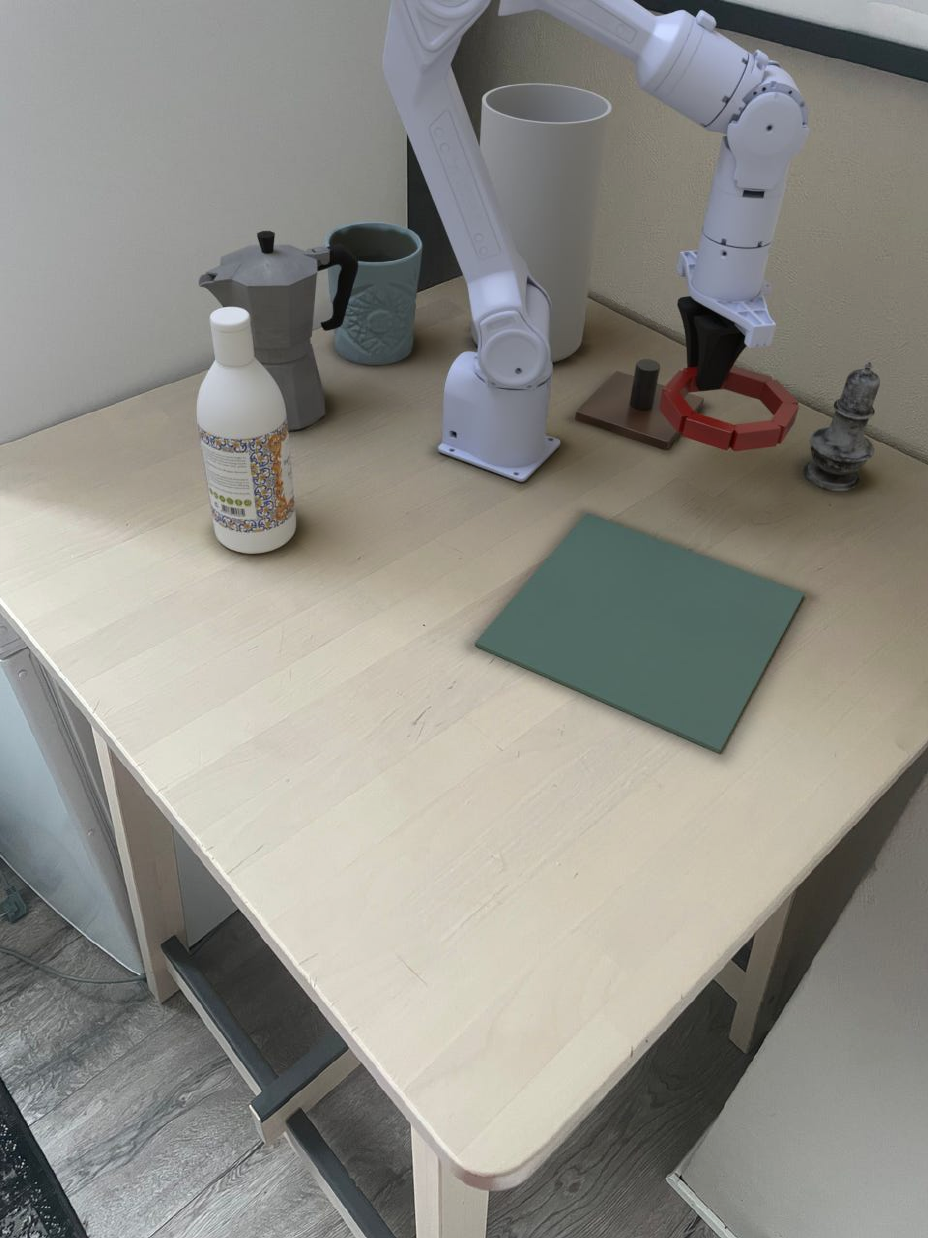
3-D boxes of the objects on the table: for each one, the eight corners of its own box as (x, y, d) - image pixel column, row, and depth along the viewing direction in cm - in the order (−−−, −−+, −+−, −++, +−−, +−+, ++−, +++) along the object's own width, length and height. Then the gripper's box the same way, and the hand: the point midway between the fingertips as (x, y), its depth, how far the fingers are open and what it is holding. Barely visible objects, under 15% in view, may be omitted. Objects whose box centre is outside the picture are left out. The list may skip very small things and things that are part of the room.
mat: (474, 646, 79) (474, 642, 79) (586, 515, 92) (586, 512, 92) (719, 754, 72) (720, 750, 72) (803, 596, 85) (804, 592, 85)
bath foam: (293, 557, 86) (272, 338, 73) (209, 556, 86) (173, 336, 72) (300, 507, 91) (282, 294, 78) (221, 506, 91) (189, 292, 77)
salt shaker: (865, 497, 96) (908, 383, 88) (801, 488, 97) (837, 373, 89) (860, 463, 100) (900, 351, 92) (799, 454, 101) (833, 342, 93)
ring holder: (574, 419, 104) (581, 371, 100) (615, 378, 111) (622, 331, 107) (666, 450, 101) (676, 401, 97) (702, 406, 107) (713, 358, 103)
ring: (643, 424, 88) (647, 405, 87) (689, 370, 95) (693, 353, 94) (767, 464, 84) (773, 445, 83) (805, 405, 91) (811, 387, 90)
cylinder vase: (495, 306, 122) (510, 76, 105) (595, 329, 119) (627, 95, 102) (453, 351, 113) (461, 109, 97) (559, 378, 110) (588, 131, 93)
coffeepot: (236, 448, 98) (212, 265, 86) (203, 401, 104) (176, 224, 92) (381, 410, 104) (378, 234, 92) (342, 368, 110) (334, 198, 98)
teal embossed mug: (364, 317, 119) (361, 213, 110) (438, 341, 115) (441, 235, 107) (311, 352, 112) (303, 245, 104) (388, 379, 108) (387, 270, 100)
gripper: (826, 268, 79) (782, 420, 89) (741, 197, 90) (710, 340, 99) (743, 274, 78) (707, 429, 87) (667, 202, 88) (642, 347, 97)
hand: (704, 382), depth 93 cm, fingers closed on ring, 1 cm apart
